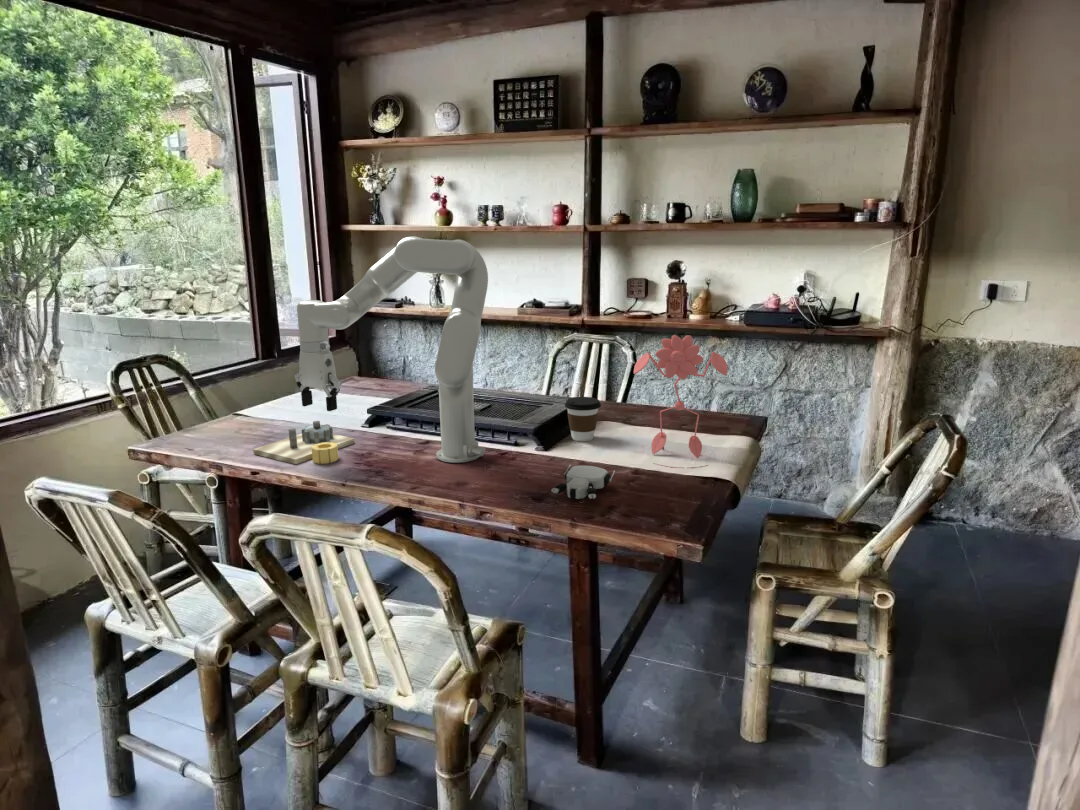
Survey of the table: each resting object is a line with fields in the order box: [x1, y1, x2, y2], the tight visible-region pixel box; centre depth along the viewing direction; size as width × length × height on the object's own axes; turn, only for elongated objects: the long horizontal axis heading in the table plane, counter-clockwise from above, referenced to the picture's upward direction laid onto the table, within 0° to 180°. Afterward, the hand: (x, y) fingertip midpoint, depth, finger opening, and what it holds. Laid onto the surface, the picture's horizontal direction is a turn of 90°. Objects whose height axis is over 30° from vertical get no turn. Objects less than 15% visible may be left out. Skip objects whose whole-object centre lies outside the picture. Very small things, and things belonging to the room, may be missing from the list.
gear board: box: [252, 420, 356, 465], centre depth 205 cm, size 18×22×7 cm
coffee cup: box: [564, 396, 602, 442], centre depth 212 cm, size 11×11×12 cm
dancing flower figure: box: [633, 334, 728, 469], centre depth 190 cm, size 15×26×35 cm, turn 68°
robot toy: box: [551, 464, 616, 500], centre depth 171 cm, size 12×4×15 cm
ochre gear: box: [312, 442, 339, 465], centre depth 196 cm, size 7×7×4 cm
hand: (319, 407), depth 193 cm, fingers open, 9 cm apart
